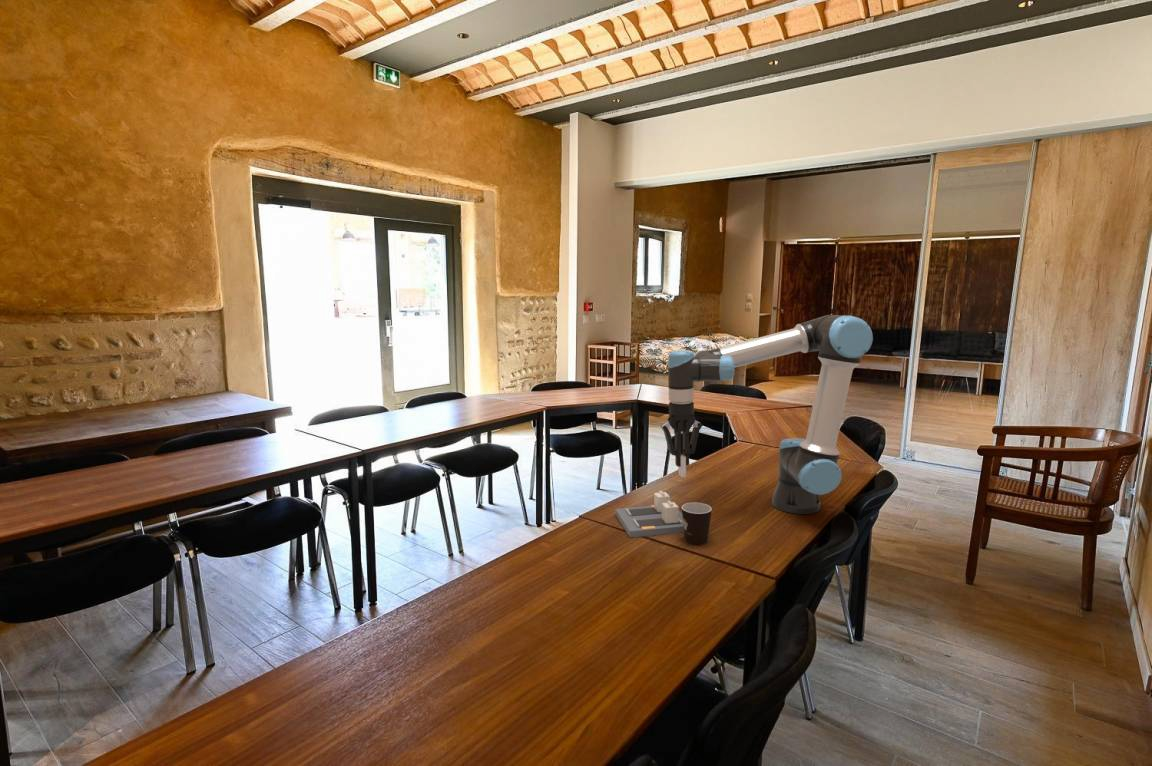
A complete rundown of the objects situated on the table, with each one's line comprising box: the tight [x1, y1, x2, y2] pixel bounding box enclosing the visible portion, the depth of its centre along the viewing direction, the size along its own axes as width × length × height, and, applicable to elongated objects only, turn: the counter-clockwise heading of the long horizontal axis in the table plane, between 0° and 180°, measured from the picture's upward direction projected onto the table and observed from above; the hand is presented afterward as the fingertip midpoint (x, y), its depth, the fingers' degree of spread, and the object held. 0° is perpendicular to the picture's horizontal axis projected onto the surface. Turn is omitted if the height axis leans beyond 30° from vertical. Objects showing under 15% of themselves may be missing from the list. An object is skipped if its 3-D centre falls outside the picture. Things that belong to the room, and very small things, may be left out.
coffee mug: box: [681, 502, 713, 546], centre depth 166 cm, size 12×9×10 cm
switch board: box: [614, 504, 684, 539], centre depth 179 cm, size 20×18×3 cm
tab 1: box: [653, 490, 671, 512], centre depth 183 cm, size 4×4×6 cm
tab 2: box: [662, 500, 680, 523], centre depth 174 cm, size 4×4×6 cm
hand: (682, 475), depth 176 cm, fingers closed
